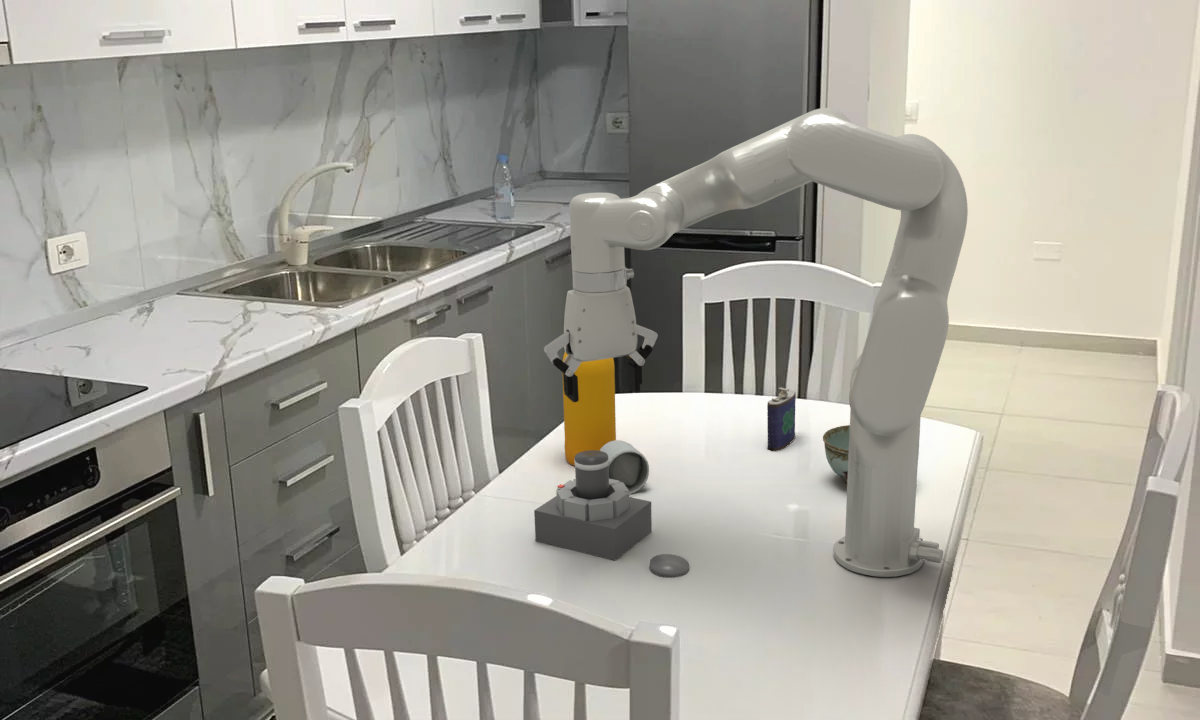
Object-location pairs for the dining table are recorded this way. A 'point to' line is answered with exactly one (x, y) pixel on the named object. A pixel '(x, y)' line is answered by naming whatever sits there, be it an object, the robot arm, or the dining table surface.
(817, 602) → the dining table surface
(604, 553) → the camera body
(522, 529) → the dining table surface
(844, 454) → the bowl
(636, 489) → the ceramic mug
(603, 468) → the lens
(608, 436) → the beer bottle
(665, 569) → the lens cap
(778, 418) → the flask
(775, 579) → the dining table surface
